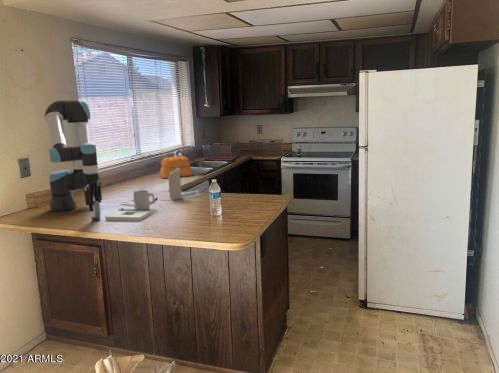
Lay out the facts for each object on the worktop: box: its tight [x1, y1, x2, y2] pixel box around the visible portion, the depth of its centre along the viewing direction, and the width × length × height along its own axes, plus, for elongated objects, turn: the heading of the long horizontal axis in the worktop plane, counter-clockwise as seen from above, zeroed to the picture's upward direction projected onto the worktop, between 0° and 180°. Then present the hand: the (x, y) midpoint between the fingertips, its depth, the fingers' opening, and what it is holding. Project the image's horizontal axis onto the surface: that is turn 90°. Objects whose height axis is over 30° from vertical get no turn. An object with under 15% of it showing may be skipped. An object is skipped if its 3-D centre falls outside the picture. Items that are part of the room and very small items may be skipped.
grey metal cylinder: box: [90, 199, 101, 222], centre depth 228 cm, size 5×5×10 cm
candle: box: [159, 168, 183, 201], centre depth 273 cm, size 7×14×20 cm, turn 108°
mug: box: [132, 189, 156, 209], centre depth 248 cm, size 12×8×11 cm
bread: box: [159, 155, 193, 179], centre depth 361 cm, size 16×26×17 cm, turn 116°
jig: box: [104, 207, 153, 222], centre depth 234 cm, size 20×16×3 cm
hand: (95, 215), depth 228 cm, fingers closed on grey metal cylinder, 5 cm apart
